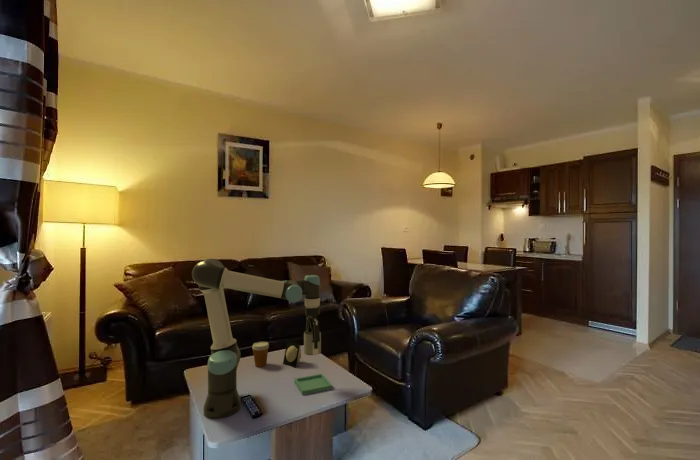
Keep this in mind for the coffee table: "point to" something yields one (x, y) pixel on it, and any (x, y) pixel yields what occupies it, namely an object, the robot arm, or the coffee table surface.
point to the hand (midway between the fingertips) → (312, 351)
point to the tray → (312, 384)
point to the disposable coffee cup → (260, 353)
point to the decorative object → (292, 354)
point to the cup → (310, 343)
